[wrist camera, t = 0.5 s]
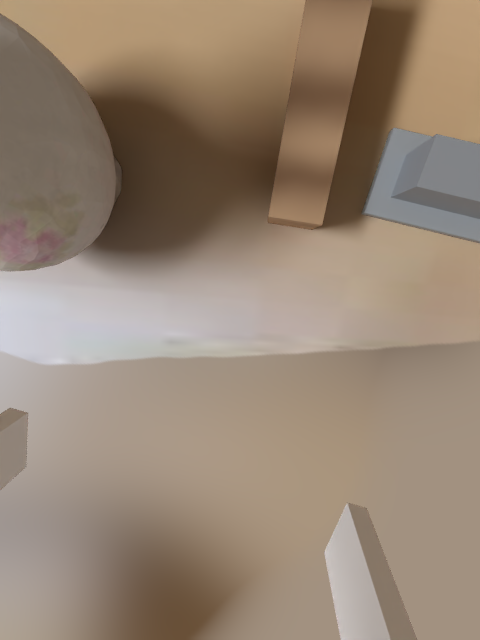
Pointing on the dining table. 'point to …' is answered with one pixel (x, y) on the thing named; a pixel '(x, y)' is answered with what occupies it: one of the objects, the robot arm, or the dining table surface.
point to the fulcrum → (428, 184)
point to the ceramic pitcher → (48, 158)
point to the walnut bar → (317, 109)
